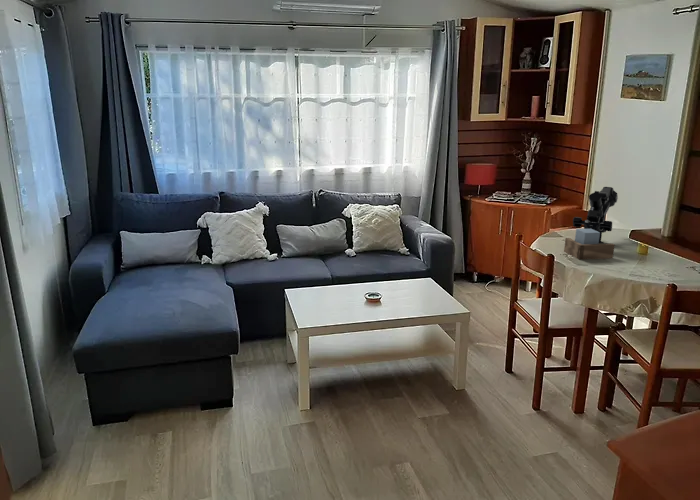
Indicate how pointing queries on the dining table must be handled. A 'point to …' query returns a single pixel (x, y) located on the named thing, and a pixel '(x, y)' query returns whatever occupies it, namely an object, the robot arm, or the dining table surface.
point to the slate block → (587, 236)
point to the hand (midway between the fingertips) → (588, 237)
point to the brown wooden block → (588, 250)
